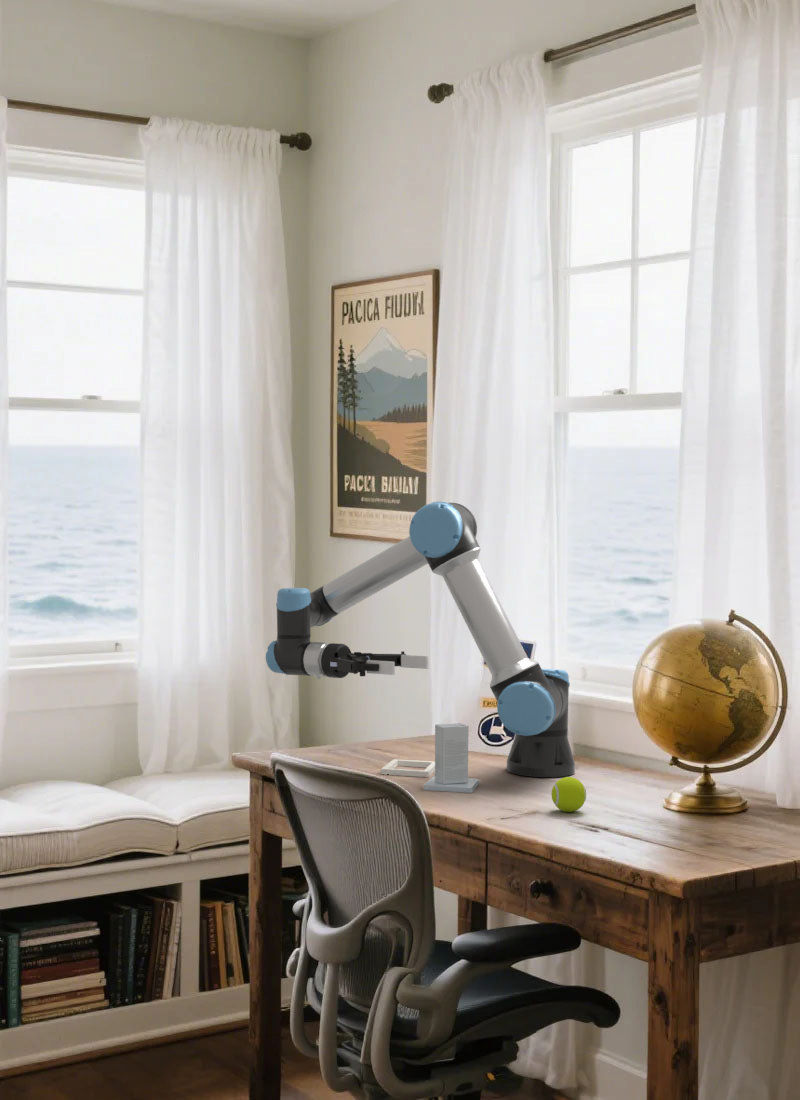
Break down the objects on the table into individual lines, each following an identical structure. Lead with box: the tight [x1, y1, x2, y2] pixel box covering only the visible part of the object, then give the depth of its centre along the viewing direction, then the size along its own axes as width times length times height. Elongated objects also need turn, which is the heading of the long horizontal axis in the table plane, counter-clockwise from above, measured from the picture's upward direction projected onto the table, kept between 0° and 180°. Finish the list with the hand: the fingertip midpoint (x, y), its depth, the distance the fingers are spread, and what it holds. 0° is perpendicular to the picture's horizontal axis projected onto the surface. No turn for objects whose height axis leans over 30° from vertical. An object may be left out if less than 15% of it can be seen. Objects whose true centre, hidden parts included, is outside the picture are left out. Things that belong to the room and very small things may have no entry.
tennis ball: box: [551, 776, 587, 813], centre depth 271 cm, size 7×7×7 cm
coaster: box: [423, 775, 480, 794], centre depth 293 cm, size 10×10×1 cm
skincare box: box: [434, 722, 469, 784], centre depth 293 cm, size 6×4×12 cm
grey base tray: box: [380, 758, 435, 778], centre depth 310 cm, size 10×12×1 cm
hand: (411, 665), depth 298 cm, fingers open, 13 cm apart
